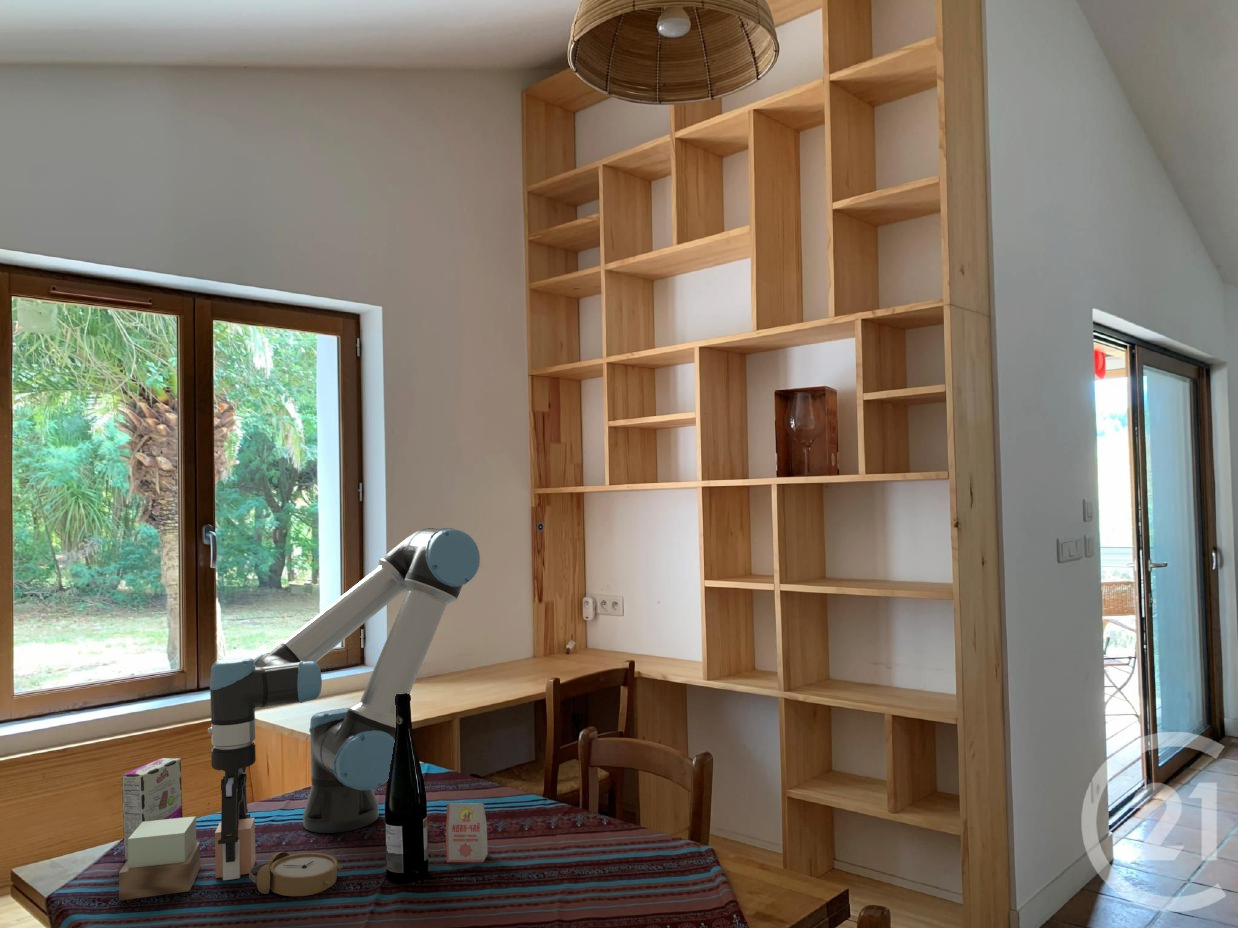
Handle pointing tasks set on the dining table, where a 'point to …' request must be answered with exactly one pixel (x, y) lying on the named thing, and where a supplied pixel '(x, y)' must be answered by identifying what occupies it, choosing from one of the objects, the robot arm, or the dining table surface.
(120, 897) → the tower lower
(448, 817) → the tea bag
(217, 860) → the block
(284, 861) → the alarm clock
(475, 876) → the dining table surface
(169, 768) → the candy bar box
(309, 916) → the dining table surface
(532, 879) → the dining table surface
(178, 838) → the tower upper
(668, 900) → the dining table surface
